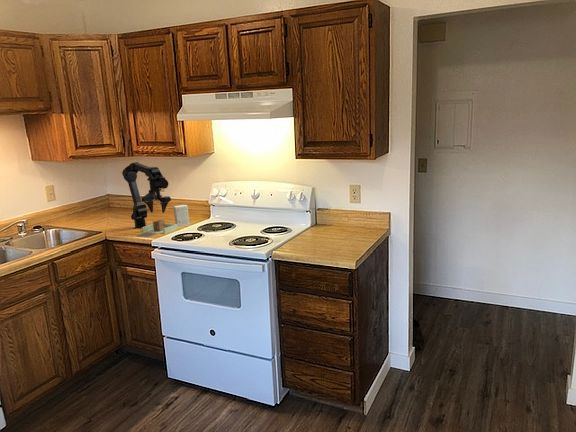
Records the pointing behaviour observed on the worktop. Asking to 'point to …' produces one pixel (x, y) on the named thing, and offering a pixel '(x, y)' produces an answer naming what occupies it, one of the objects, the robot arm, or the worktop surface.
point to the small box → (181, 215)
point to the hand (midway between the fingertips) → (157, 212)
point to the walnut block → (159, 225)
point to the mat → (147, 234)
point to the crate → (167, 229)
